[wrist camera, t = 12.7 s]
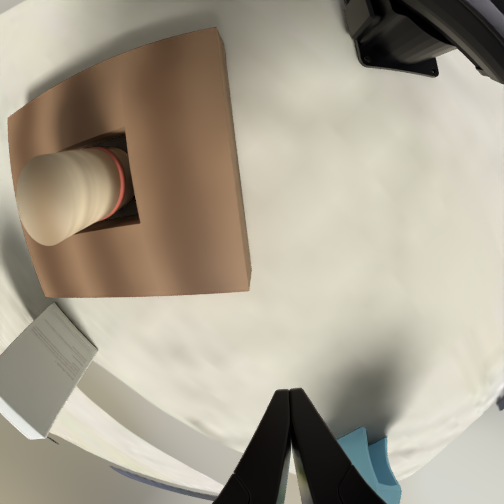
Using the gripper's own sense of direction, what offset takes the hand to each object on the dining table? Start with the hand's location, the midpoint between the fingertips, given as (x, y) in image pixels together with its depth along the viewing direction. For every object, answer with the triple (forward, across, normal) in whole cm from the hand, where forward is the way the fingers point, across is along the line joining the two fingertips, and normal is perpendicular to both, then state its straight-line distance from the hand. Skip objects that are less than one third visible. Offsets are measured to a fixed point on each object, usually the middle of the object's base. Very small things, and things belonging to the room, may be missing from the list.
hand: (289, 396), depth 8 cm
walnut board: (+12, +11, -7) cm, 18 cm away
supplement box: (+12, +24, +8) cm, 28 cm away
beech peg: (+12, +11, -7) cm, 18 cm away
